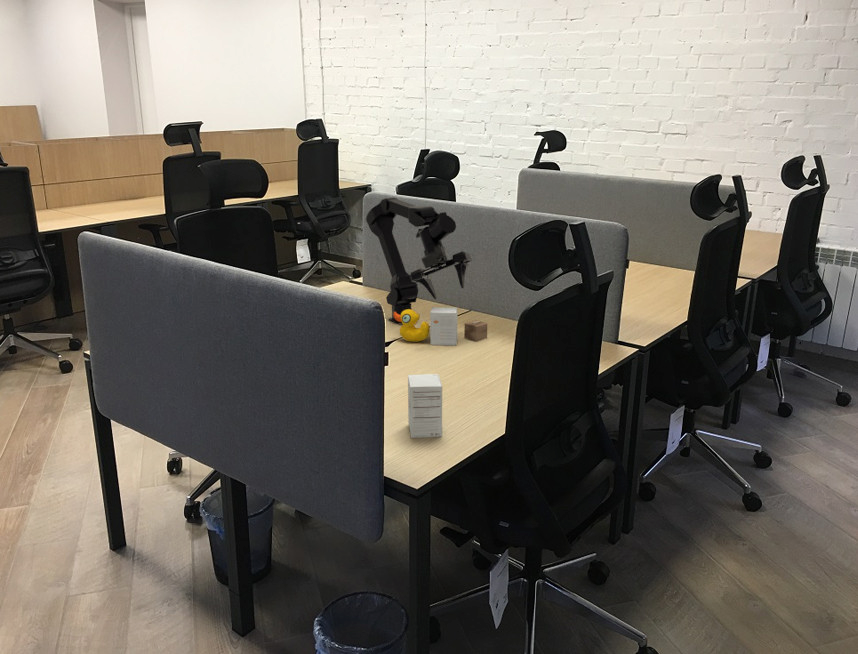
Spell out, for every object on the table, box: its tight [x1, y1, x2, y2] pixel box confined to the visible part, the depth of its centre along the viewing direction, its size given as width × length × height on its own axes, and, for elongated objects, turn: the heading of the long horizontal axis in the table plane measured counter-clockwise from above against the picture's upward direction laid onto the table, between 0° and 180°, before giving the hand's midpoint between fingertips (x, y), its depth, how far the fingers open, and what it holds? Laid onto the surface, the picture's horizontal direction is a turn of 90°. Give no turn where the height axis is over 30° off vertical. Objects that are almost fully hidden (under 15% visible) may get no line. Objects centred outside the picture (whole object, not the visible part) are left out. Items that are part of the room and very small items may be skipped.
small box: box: [429, 306, 458, 346], centre depth 228 cm, size 8×6×10 cm
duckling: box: [393, 309, 430, 343], centre depth 229 cm, size 11×5×10 cm, turn 75°
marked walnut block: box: [463, 319, 488, 343], centre depth 232 cm, size 5×5×5 cm
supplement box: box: [407, 373, 443, 439], centre depth 170 cm, size 7×7×13 cm
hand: (449, 293), depth 225 cm, fingers open, 9 cm apart
